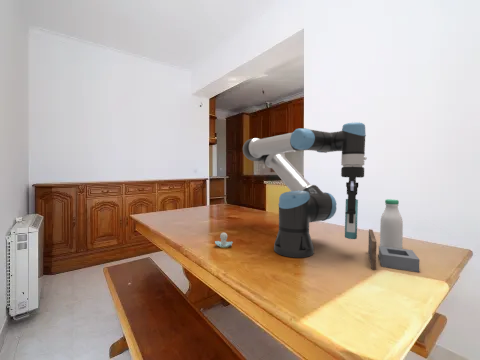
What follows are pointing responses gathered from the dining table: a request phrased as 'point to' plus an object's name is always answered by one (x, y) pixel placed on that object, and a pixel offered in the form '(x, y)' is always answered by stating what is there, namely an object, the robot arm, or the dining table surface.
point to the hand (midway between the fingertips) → (350, 230)
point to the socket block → (398, 258)
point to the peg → (351, 234)
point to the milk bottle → (391, 225)
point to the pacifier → (223, 241)
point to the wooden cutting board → (372, 249)
